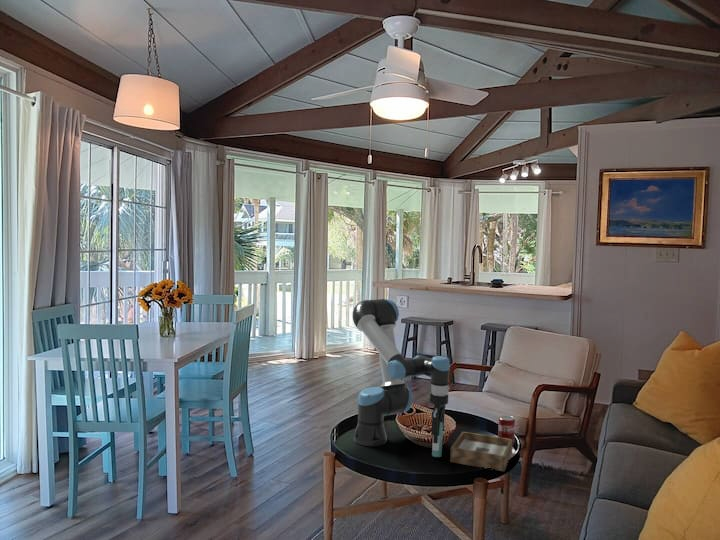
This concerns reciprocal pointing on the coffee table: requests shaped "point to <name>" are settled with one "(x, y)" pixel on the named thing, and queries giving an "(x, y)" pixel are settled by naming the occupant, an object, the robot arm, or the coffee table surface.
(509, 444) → the wooden box with hole
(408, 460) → the coffee table surface
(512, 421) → the soda can
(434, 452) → the teal peg
